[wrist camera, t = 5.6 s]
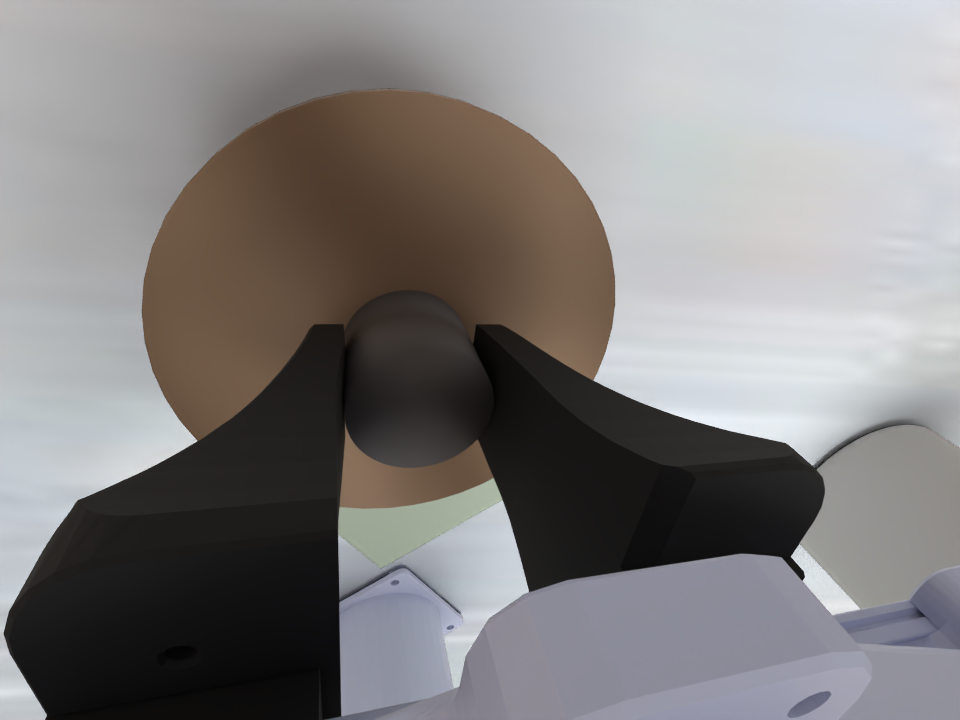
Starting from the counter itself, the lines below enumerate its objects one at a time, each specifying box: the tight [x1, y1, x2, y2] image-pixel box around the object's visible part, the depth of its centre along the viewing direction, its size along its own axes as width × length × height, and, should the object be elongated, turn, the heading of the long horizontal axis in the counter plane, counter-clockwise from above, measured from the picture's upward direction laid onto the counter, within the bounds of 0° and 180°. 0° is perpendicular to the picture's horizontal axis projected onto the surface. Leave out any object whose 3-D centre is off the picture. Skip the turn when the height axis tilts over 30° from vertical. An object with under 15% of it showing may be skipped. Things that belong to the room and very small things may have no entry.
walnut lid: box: [142, 89, 615, 509], centre depth 11 cm, size 11×11×3 cm
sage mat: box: [338, 478, 502, 568], centre depth 26 cm, size 12×12×1 cm
